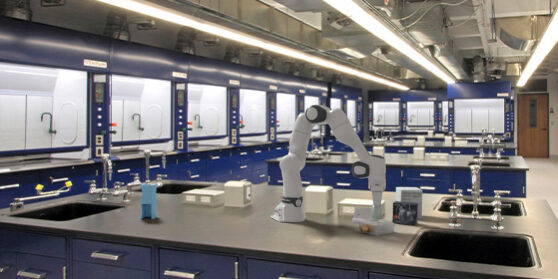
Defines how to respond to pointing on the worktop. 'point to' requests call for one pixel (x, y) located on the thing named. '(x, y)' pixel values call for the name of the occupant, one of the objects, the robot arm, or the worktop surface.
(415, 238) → the worktop surface
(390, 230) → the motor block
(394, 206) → the small box
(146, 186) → the blue tower block
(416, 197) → the supplement box
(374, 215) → the pump canister
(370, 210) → the hinge
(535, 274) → the worktop surface
